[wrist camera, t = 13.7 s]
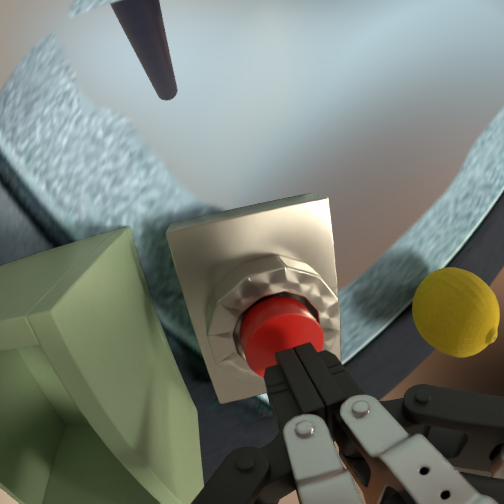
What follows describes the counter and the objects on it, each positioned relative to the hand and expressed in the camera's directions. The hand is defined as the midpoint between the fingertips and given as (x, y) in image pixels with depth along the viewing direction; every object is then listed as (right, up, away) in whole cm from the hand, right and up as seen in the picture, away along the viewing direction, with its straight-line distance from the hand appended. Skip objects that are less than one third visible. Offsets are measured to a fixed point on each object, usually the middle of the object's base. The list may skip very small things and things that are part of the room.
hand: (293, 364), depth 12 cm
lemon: (+11, +2, +9) cm, 14 cm away
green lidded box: (-13, -2, +5) cm, 14 cm away
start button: (-1, +1, +3) cm, 3 cm away
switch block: (-1, +2, +6) cm, 6 cm away
